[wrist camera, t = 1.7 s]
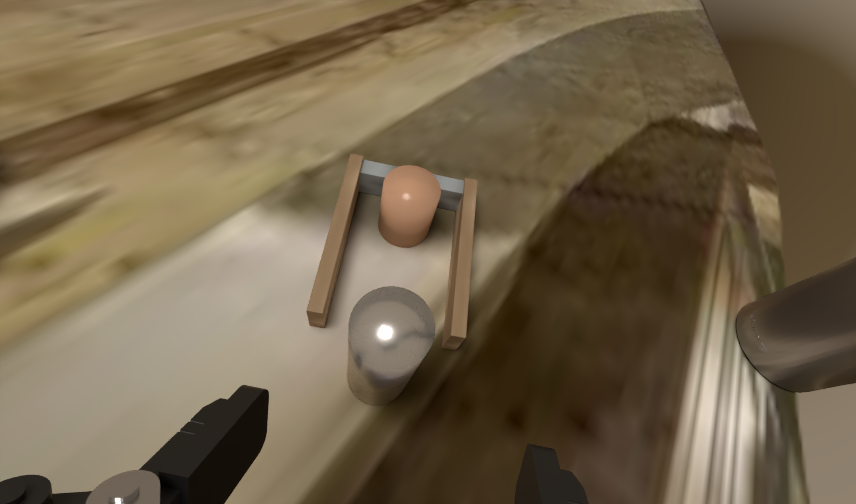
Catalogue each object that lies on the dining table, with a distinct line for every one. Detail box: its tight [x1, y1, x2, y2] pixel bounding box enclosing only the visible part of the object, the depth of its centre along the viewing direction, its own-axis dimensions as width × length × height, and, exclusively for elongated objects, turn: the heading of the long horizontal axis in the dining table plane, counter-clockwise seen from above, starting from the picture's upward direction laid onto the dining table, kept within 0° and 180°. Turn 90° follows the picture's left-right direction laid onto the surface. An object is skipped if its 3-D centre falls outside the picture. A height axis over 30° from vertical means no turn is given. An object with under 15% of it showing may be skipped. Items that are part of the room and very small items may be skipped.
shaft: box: [347, 286, 435, 405], centre depth 28 cm, size 5×5×12 cm
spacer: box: [378, 165, 441, 248], centre depth 38 cm, size 5×5×6 cm
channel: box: [307, 154, 477, 350], centre depth 37 cm, size 12×16×4 cm
